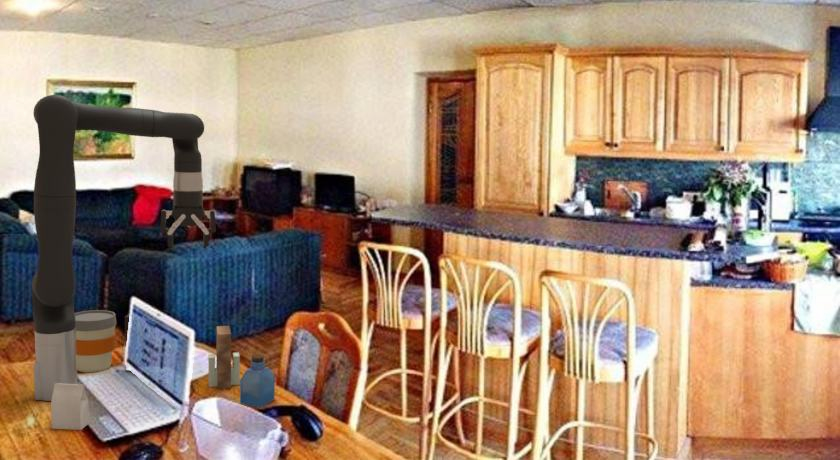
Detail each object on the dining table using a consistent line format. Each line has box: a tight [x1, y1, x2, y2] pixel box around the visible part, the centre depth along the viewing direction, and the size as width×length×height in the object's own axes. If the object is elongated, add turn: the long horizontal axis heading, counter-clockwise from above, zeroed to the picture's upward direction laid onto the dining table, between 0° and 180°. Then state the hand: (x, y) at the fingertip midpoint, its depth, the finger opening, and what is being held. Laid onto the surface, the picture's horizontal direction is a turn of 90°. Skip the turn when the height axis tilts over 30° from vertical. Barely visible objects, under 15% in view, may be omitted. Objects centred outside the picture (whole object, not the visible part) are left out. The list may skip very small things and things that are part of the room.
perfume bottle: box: [239, 353, 276, 408], centre depth 184 cm, size 6×6×12 cm
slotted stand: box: [207, 352, 241, 388], centre depth 196 cm, size 8×3×8 cm, turn 108°
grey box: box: [50, 383, 90, 431], centre depth 165 cm, size 4×7×10 cm, turn 88°
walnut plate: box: [216, 325, 232, 390], centre depth 195 cm, size 3×8×15 cm, turn 18°
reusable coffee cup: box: [74, 309, 118, 373], centre depth 204 cm, size 13×13×15 cm
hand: (188, 248), depth 196 cm, fingers open, 8 cm apart
